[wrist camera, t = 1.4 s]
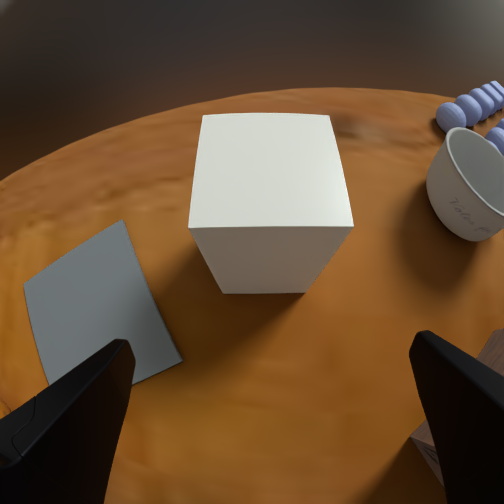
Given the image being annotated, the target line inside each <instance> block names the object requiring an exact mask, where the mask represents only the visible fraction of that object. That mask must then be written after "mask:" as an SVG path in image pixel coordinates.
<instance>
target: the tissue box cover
mask: <svg viewBox="0 0 504 504" xmlns="http://www.w3.org/2000/svg"><path fill="white" fill-rule="evenodd" d="M476 359H477V360H478V361H480V362H482V363H483V364H485V365H486V366H488V367H490V368H491V369H493V370H494V371H496V372H497V373H499V374H501V375H502V376H504V328H503V329H499V330H495V331H494V332H493V334H492V335H491V337H490V338H489V340H488V342H487V343H486V345H485V346H484V348H483V349H482V351H481V352H480V354H479V355H478V357H477V358H476ZM410 437H411V439H412V440H413V442H414V443H415V445H416V446H417V448H418V449H419V451H420V452H421V454H422V455H423V457H424V458H425V460H426V461H427V463H428V464H429V466H430V467H431V469H432V470H433V472H434V474H435V475H436V477H437V478H438V480H439V481H440V483H441V484H442V486H443V487H444V483H443V478H442V474H441V469H440V465H439V461H438V457H437V453H436V449H435V446H434V442H433V439H432V435H431V432H430V428H429V425H428V422H427V419H426V420H425V421H424V422H423V423H422V424H421V425H420V426H419V427H418V428H417V429H416V430H415V431H414V432H413V433H412V434H411V435H410ZM444 489H445V488H444Z"/></svg>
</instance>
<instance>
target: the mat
mask: <svg viewBox="0 0 504 504" xmlns="http://www.w3.org/2000/svg"><path fill="white" fill-rule="evenodd" d="M24 290H25V296H26V302H27V307H28V312H29V317H30V321H31V326H32V330H33V334H34V338H35V342H36V345H37V349H38V352H39V356H40V359H41V362H42V365H43V368H44V371H45V374H46V377H47V380H48V383H49V385H51V384H52V383H54V382H55V381H56V380H58V379H59V378H61V377H62V376H63V375H65V374H66V373H68V372H69V371H70V370H72V369H73V368H75V367H76V366H77V365H79V364H80V363H82V362H83V361H84V360H86V359H87V358H89V357H90V356H91V355H93V354H94V353H96V352H97V351H98V350H100V349H101V348H103V347H104V346H105V345H107V344H108V343H110V342H111V341H112V340H114V339H116V338H119V339H126V340H128V341H129V343H130V345H131V348H132V351H133V353H134V356H135V359H136V366H135V371H134V376H133V381H132V385H133V384H135V383H138V382H140V381H142V380H144V379H146V378H149V377H151V376H153V375H155V374H157V373H159V372H162V371H164V370H166V369H168V368H170V367H172V366H174V365H176V364H178V363H180V362H182V361H183V359H182V357H181V355H180V353H179V352H178V350H177V348H176V346H175V344H174V342H173V339H172V337H171V335H170V333H169V331H168V329H167V327H166V325H165V323H164V321H163V318H162V316H161V314H160V312H159V310H158V307H157V305H156V303H155V301H154V298H153V296H152V294H151V291H150V289H149V287H148V284H147V282H146V279H145V277H144V274H143V272H142V269H141V267H140V264H139V262H138V259H137V256H136V254H135V251H134V248H133V246H132V243H131V240H130V237H129V235H128V232H127V229H126V226H125V223H124V221H123V220H120V221H118V222H117V223H115V224H113V225H111V226H110V227H108V228H106V229H105V230H103V231H101V232H100V233H98V234H97V235H95V236H93V237H92V238H90V239H88V240H87V241H85V242H84V243H82V244H81V245H79V246H77V247H76V248H74V249H73V250H71V251H70V252H68V253H67V254H65V255H64V256H62V257H61V258H59V259H58V260H56V261H55V262H53V263H52V264H51V265H49V266H48V267H46V268H45V269H43V270H42V271H41V272H39V273H38V274H36V275H35V276H34V277H32V278H31V279H30V280H28V281H27V282H26V283H24Z"/></svg>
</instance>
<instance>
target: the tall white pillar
mask: <svg viewBox="0 0 504 504" xmlns="http://www.w3.org/2000/svg"><path fill="white" fill-rule="evenodd" d="M353 227H354V225H353V219H352V214H351V208H350V203H349V198H348V193H347V188H346V183H345V178H344V174H343V169H342V165H341V161H340V156H339V152H338V148H337V144H336V140H335V137H334V133H333V129H332V125H331V122H330V118H329V116H327V115H312V114H292V113H237V114H216V115H203V119H202V125H201V131H200V138H199V144H198V151H197V158H196V165H195V173H194V180H193V188H192V197H191V206H190V215H189V225H188V228H189V230H190V232H191V234H192V236H193V238H194V240H195V242H196V244H197V246H198V248H199V250H200V252H201V254H202V256H203V257H204V259H205V261H206V263H207V265H208V267H209V269H210V271H211V273H212V274H213V276H214V278H215V280H216V282H217V284H218V286H219V287H220V289H221V291H222V293H223V294H260V293H306V292H307V290H308V289H309V288H310V286H311V285H312V284H313V282H314V281H315V280H316V278H317V277H318V276H319V274H320V273H321V272H322V270H323V269H324V268H325V266H326V265H327V264H328V262H329V261H330V259H331V258H332V257H333V255H334V254H335V252H336V251H337V250H338V248H339V247H340V245H341V244H342V243H343V241H344V240H345V238H346V237H347V235H348V234H349V233H350V231H351V230H352V228H353Z"/></svg>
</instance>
